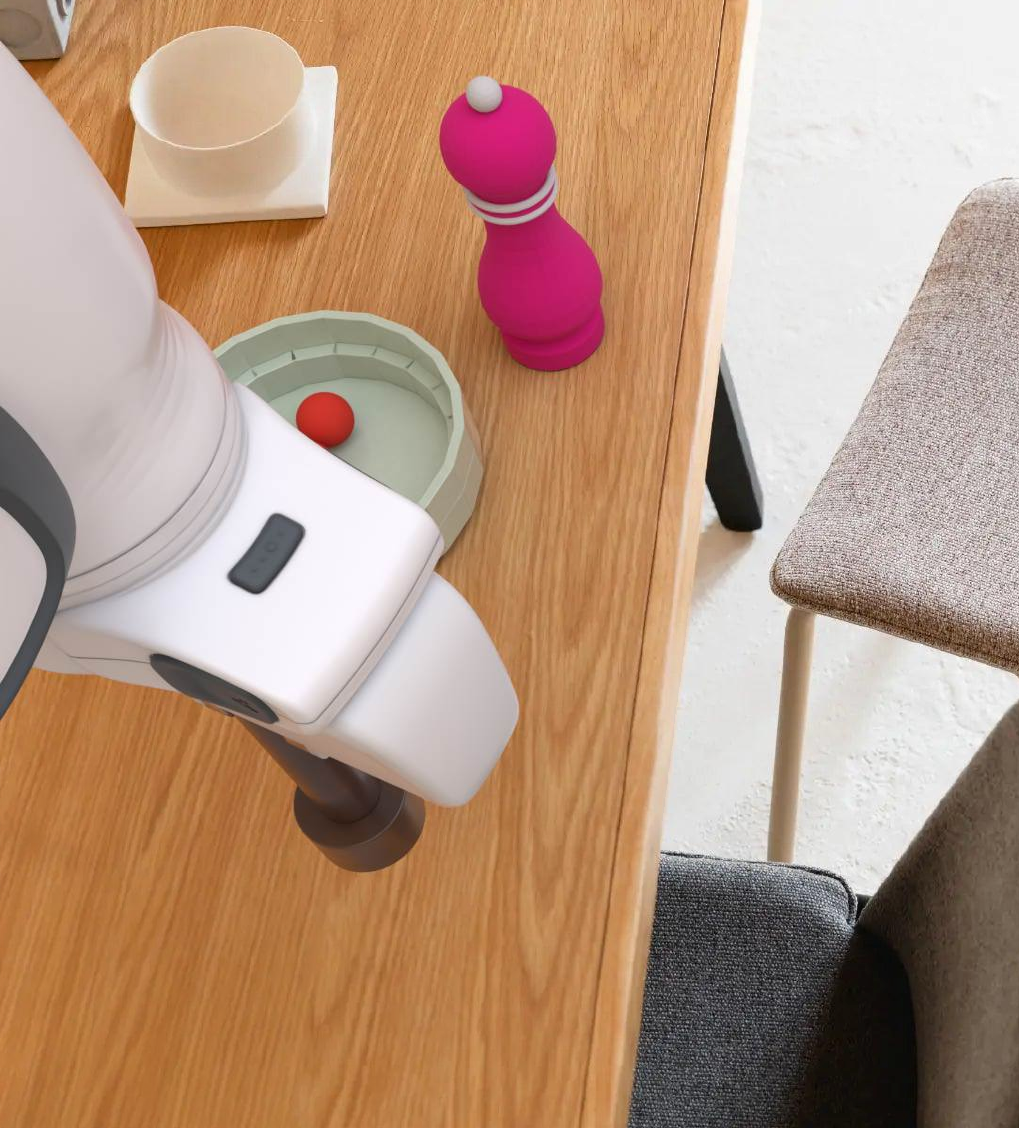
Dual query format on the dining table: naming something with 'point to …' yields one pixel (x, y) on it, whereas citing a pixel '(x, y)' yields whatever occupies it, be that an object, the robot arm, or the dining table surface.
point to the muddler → (346, 807)
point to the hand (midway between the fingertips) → (278, 713)
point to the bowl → (372, 402)
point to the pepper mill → (523, 227)
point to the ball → (325, 418)
